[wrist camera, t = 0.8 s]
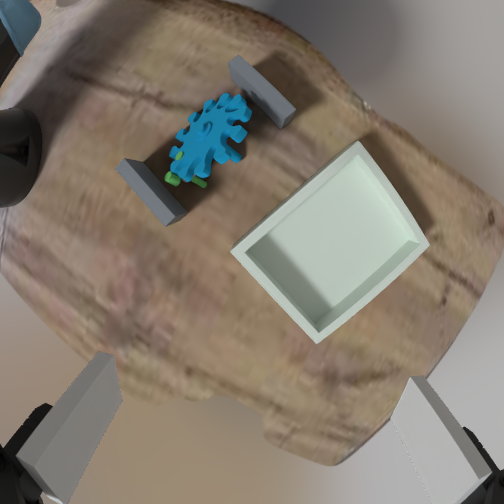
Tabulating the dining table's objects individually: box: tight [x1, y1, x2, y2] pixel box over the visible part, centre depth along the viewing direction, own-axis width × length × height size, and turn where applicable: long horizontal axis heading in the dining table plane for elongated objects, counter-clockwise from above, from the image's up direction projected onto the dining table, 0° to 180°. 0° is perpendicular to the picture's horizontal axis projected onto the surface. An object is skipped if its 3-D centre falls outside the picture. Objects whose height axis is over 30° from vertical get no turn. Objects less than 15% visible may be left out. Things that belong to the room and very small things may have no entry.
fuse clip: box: [115, 55, 296, 227], centre depth 27 cm, size 8×16×5 cm, turn 132°
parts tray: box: [230, 141, 430, 344], centre depth 30 cm, size 14×17×4 cm
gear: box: [164, 93, 252, 188], centre depth 27 cm, size 11×6×10 cm
